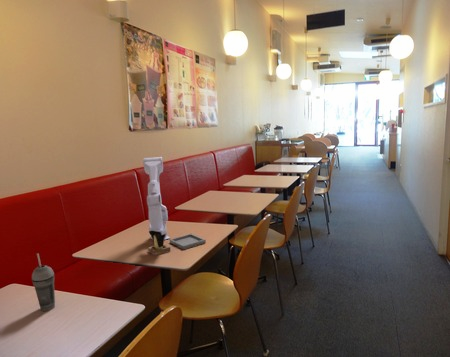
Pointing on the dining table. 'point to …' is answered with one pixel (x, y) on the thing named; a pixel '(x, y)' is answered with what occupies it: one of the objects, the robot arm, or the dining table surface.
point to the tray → (187, 241)
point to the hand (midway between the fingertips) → (158, 245)
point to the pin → (156, 244)
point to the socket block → (160, 251)
